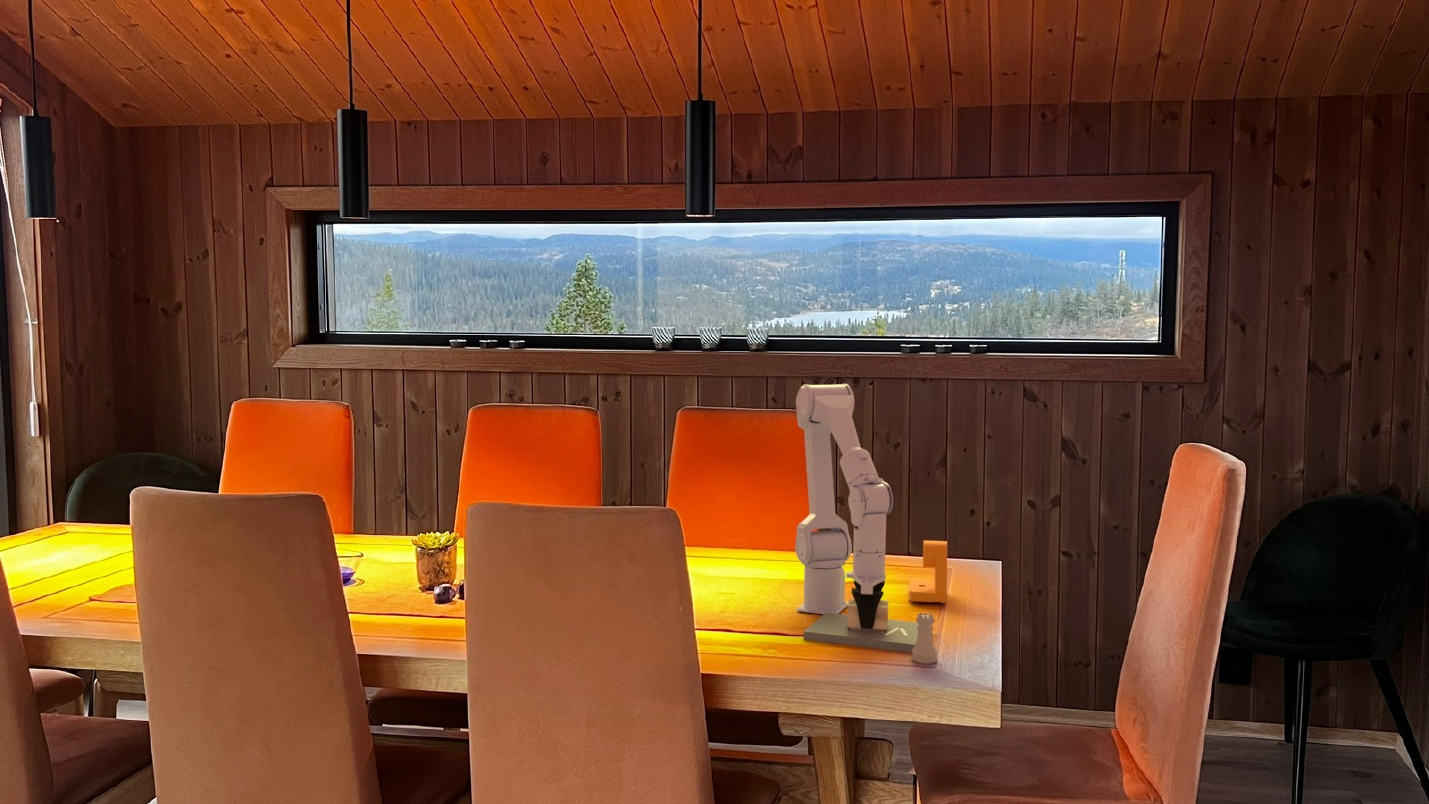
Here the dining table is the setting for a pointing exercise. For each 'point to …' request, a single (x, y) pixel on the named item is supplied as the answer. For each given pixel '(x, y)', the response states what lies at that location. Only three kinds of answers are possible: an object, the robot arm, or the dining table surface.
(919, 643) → the rook chess piece
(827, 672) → the dining table surface
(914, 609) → the dining table surface
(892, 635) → the board
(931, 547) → the bracket
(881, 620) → the block
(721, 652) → the dining table surface
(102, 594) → the dining table surface
